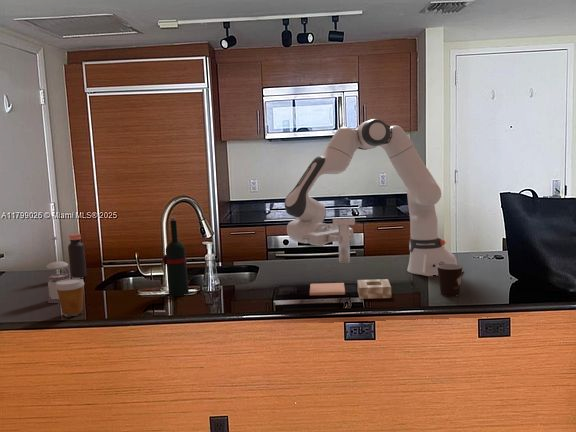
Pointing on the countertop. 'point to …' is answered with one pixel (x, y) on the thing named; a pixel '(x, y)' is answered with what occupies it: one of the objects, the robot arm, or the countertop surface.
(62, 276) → the french press
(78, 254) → the vinegar
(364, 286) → the socket block
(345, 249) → the t key
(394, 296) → the countertop surface
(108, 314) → the countertop surface
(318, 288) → the tile
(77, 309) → the glass of amber beer
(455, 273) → the coffee mug
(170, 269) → the wine bottle
